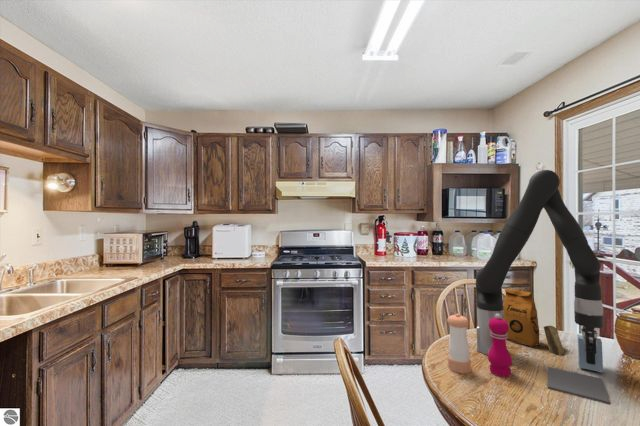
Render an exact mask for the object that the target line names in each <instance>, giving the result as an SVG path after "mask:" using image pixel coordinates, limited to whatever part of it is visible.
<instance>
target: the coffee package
mask: <svg viewBox="0 0 640 426" xmlns="http://www.w3.org/2000/svg"><path fill="white" fill-rule="evenodd" d="M504 293H505V295H504V301H503V316H504V320H505V321H506V322H507V323H508V326H509V330H508V331H507V332H506V333H507V339H508V340H510V341H513V342H517V343H519V344H521V345H526V346H529V347H531V348H534V347H536V346H540V327H539V318H538V309H537V306H536V302H535V298H534V294H533V292H529V291H523V290H518V289H513V288H512V289H510V288H505V289H504ZM507 339H506V340H507Z"/></svg>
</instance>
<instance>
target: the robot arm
mask: <svg viewBox="0 0 640 426" xmlns="http://www.w3.org/2000/svg"><path fill="white" fill-rule="evenodd" d="M560 180H561V179H560V177H559V175H558V174H557V172H555V171H553V170H550V169H542V170H539V171H536V172H535V173H533V175H531V177H530V178H529V180H528V184H527V187H526V189H525V191H524V194H523V196H522V198H521V200H520V201H519V203H518V205H517V206H516V207H515V209H514V210H513V212H512V213H511V214H510V216H509V217H508V218H507V220H506V222H505V223H504V226H503V227H502V229H501V231H500V233H499V235H498V236H497V239H496V241H495V245H494V247H493V251H492V253H491V255H490V257H489V259H488V261H487V262H486V264H485V265H484V267H482V268H480V269H479V270H478V271H477V272H476V274H475V293H476V295H475V296H476V315H477V316H476V317H477V326H476V348H477V349H476V350H477V352H480V353H482V354H484V355H487V356H488V353H489V351H490V349H491V346H492V343H493V339H492V336H491V329H490V328H489V321H490V320H491V319H492V318H496V317H495V315H496V314H500V315H501V319H504V311H503V306H504V301H503V290H502V289H503V285H504V281H505V279H506V278H507V275H508V272H509V270H510V268H511V267H512V264H513V263H514V262H515V260H516V259H517V257H518V256H519V254H520V253H521V252H522V250H523V249H524V247H525V246H526V244H527V242H528V241H529V239H530V237H531V235H532V234H533V232H534V230H535V228H536V225H537V223H538V221H539V218H540V215H541V213H542V210H543V209H544V210H545V212H546V214H547V216H548V217H549V220H550V222H551V223H552V226H553V228H554V230H555V232H556V235H557V236H558V238H559V240H560V242H561V244H562V245H563V247H564V249H565V250H566V252H567V255H568V257H569V260H570V261H571V265H573V268H574V277H575V282H574V302H573V309H574V310H573V311H574V312H573V313H574V314H573V315H574V322H575V323H576V325H579V326H581V327H582V328H581V336H583V342H584V344H585V345H586V349H585V351H586V361H587V363H588V364H593V365H595V354H596V353H597V351H596V346H597V338H598V337H599V336H598V332H597V330H595V329H602V328H604V326H605V325H604V305H603V300H602V287H601V282H600V281H601V280H600V279H601V276H600V274H601V262H600V260H599V258H598V257H597V256H596V254H595V252H594V250H593V249H592V248H591V246H590V244H589V242H588V238H587V237H586V235H585V233H584V231H583V229H582V227H581V226H580V224H579V223H578V221H577V220H576V218H575V217H574V216H573V214H572V212H571V211H570V210H569V209H568V207H567V206H566V204H565V202H564V200H563V198H562V196H561V194H560V193H561V192H560V190H559V188H560V185H561V181H560ZM585 339H586V341H585ZM588 347H592V348H593V349H588Z"/></svg>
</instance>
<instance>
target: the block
mask: <svg viewBox="0 0 640 426" xmlns="http://www.w3.org/2000/svg"><path fill="white" fill-rule="evenodd" d="M585 341H586V339H585ZM585 349H586V345H585V344H584V342H583V336H582V334H581V335H580V334H577V350H578V351H577V352H578V366H579V368H580V369H584V370H585V369H586V370H589V371H594V372H598V373H604V363H603V362H604V360H603V358H604V357H603V341H602V340H601V338H598V337H597V346H596V351H597V353H596V354H595V365H593V364H588V363H587V361H586V351H585ZM588 349H593V348H592V347H588Z"/></svg>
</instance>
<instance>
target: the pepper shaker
mask: <svg viewBox="0 0 640 426" xmlns="http://www.w3.org/2000/svg"><path fill="white" fill-rule="evenodd" d="M446 321H447V322H446V323H447V324H448V326H449V341H448V357H447V365H448V368H449V370H451V371H453V372H455V373H460V374H469V373H470V372H471V370H472V368H471V359H470V348H469V342H468V337H467V336H468V335H467V334H468V332H467V331H468V329H467V327H468V326H469V324H470V323H469V322H470V321H469V320H468V319H467V317H465V316H463V315H460V313H455V314H451V315H449V316H448V318H447V320H446Z"/></svg>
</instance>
